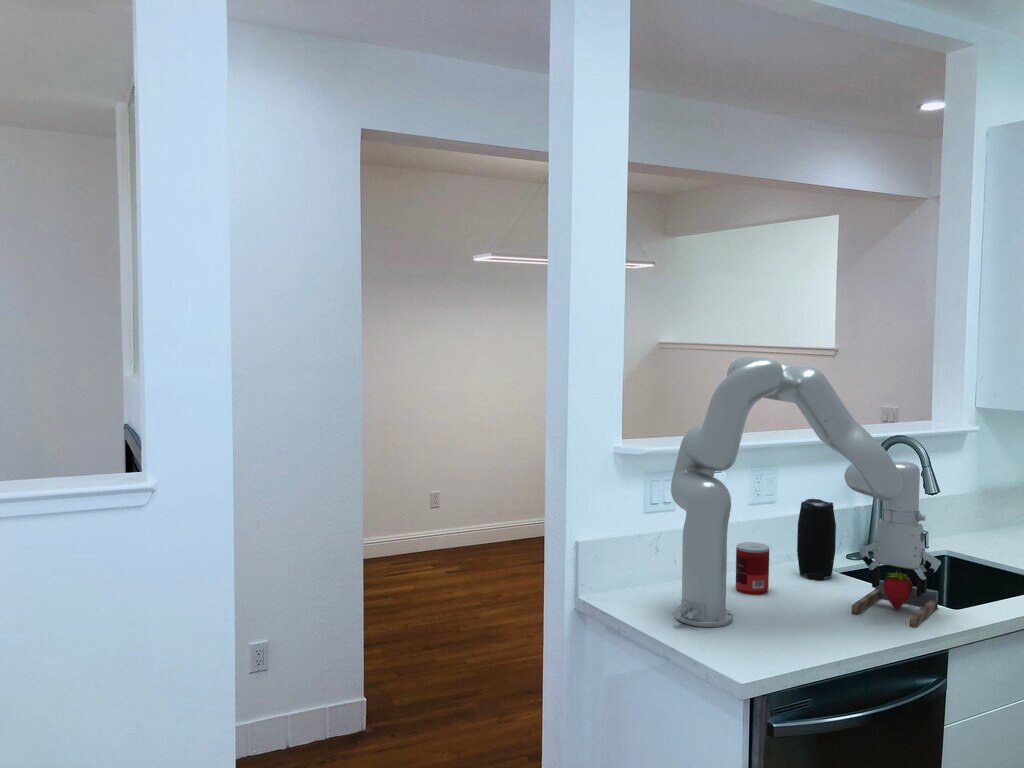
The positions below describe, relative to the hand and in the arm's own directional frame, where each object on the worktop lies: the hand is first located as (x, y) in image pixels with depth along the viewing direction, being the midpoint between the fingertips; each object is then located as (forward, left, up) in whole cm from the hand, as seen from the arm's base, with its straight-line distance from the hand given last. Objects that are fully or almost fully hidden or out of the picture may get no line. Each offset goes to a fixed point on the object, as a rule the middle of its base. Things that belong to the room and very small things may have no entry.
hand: (897, 590), depth 188 cm
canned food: (-9, +31, -4) cm, 33 cm away
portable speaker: (+13, +24, -4) cm, 28 cm away
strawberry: (0, 0, -4) cm, 4 cm away
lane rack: (-2, 0, -4) cm, 5 cm away
